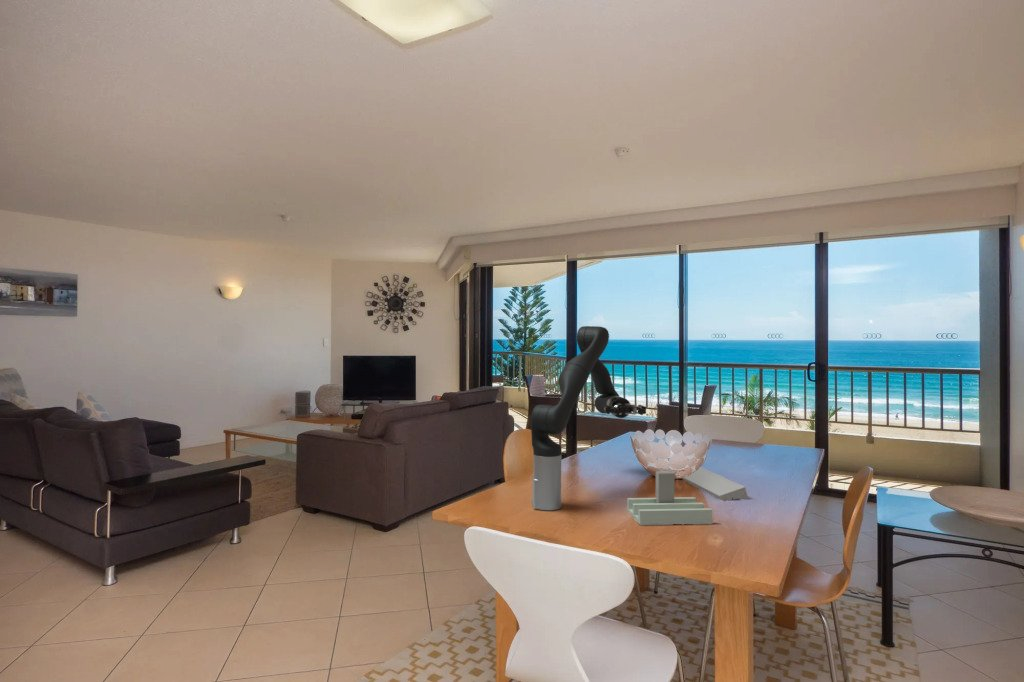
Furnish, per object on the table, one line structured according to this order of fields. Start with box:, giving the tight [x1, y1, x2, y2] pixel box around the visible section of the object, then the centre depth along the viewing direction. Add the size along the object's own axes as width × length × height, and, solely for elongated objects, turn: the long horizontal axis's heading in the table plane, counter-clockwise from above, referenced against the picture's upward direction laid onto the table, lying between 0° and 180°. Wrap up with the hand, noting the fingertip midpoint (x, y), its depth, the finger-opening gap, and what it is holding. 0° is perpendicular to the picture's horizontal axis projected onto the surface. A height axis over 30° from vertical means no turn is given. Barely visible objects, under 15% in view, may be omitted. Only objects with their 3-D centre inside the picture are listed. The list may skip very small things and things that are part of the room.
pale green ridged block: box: [626, 496, 713, 526], centre depth 171 cm, size 22×14×4 cm, turn 94°
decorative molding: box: [682, 466, 749, 501], centre depth 207 cm, size 34×5×10 cm
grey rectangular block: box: [655, 470, 676, 503], centre depth 174 cm, size 5×3×12 cm, turn 94°
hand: (630, 411), depth 192 cm, fingers open, 8 cm apart
